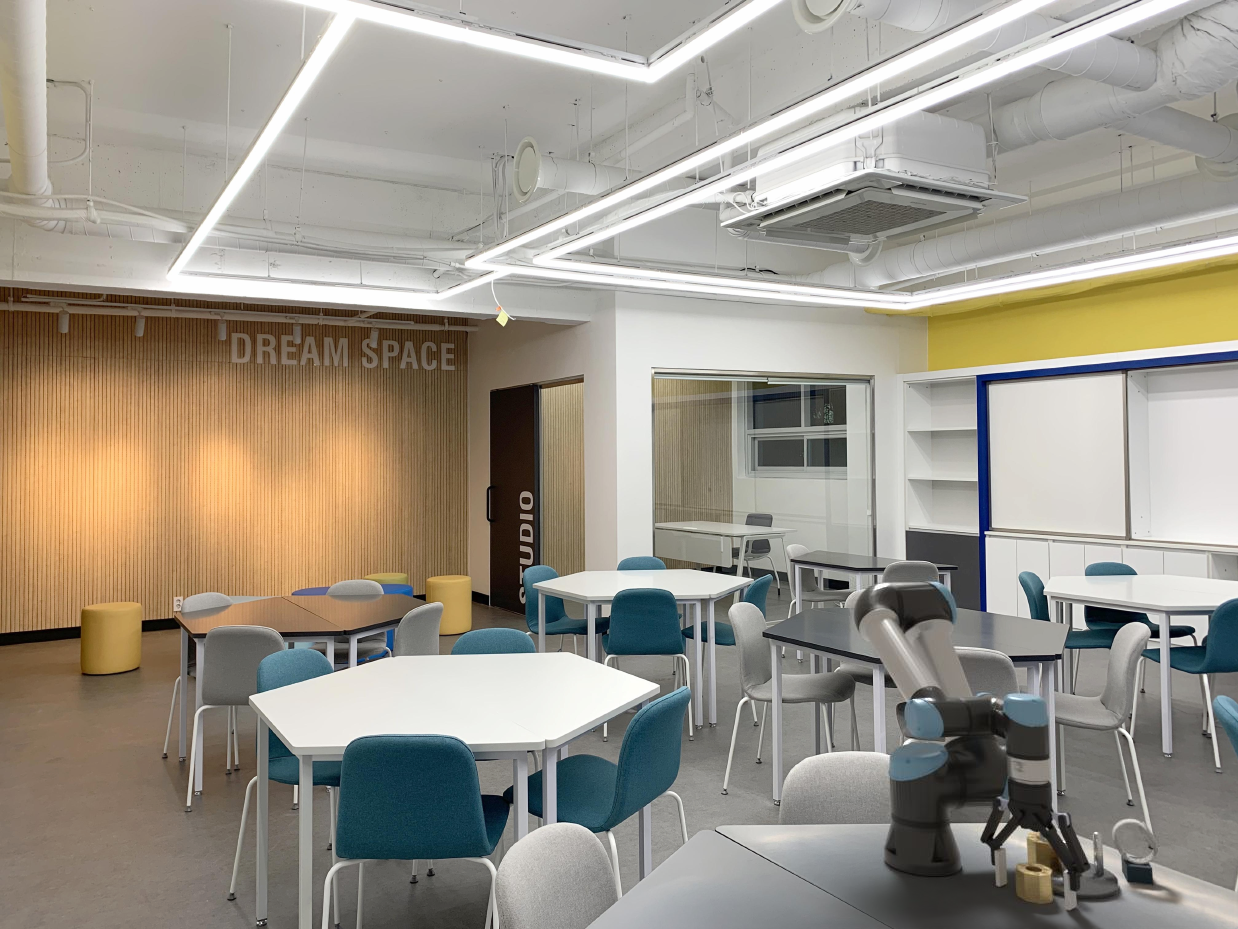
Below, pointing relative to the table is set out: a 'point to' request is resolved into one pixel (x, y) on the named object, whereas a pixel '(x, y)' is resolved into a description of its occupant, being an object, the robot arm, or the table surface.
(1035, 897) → the planet gear
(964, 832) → the table surface
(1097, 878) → the carrier
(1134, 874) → the watch
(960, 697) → the robot arm
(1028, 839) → the planet gear
